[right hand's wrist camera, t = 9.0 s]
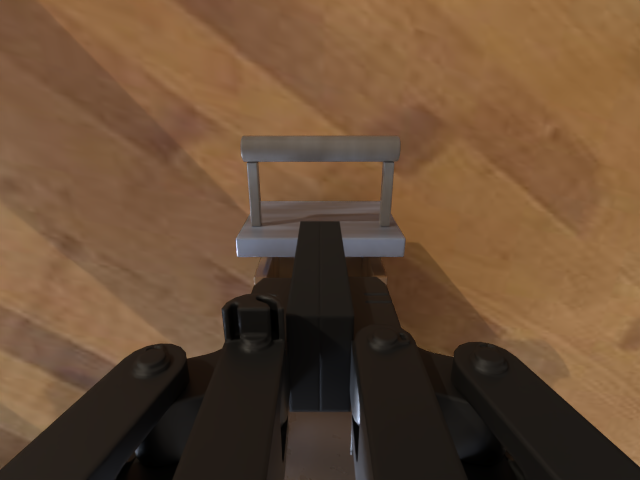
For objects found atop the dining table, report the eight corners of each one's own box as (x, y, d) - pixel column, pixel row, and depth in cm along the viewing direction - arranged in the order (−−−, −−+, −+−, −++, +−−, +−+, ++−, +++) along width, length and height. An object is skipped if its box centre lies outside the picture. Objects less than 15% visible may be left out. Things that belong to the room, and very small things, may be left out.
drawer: (251, 127, 27) (226, 140, 19) (388, 126, 27) (415, 140, 19) (267, 362, 34) (253, 435, 27) (373, 362, 34) (388, 435, 27)
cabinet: (257, 282, 32) (232, 358, 23) (383, 282, 32) (408, 357, 23) (267, 425, 38) (251, 528, 29) (373, 424, 38) (390, 527, 29)
